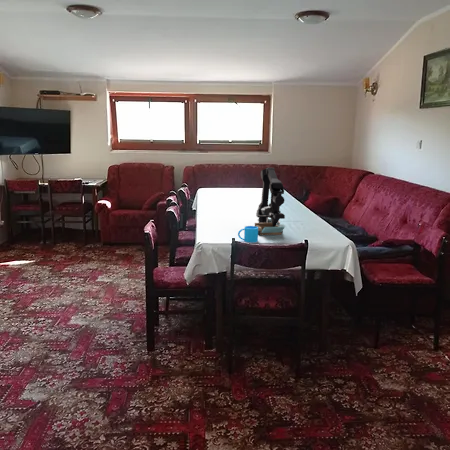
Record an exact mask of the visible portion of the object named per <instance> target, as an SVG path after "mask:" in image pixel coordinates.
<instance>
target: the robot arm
mask: <svg viewBox="0 0 450 450" xmlns="http://www.w3.org/2000/svg"><path fill="white" fill-rule="evenodd" d="M275 171H276V170H275V167H267V168H264V169H262V170H261V171H260V177H261V180H262V191H261V192H262V193H261V202H260V204H259V205H258V208H257V210H256V213H255V214H256V218H258V223H267V217H268V218H269V217H270V218H269V219H270V220H271V221H270V222H272V225H273V227H275V226H276V225H277V224H278V223H277V222H278V221H280V220H282V219H286V216H285V214H284V213H282V212H281V210H280V209H281V208H280V207H281V206H282V205H283V204H284V203H285V198H284V197H283V195H285V194H284V193H285V188H284V185H283V182H282V181H281V180H280V179H278V176H277V174H276V172H275ZM269 196H270V203H269Z"/></svg>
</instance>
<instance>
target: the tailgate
mask: <svg viewBox="0 0 450 450" xmlns="http://www.w3.org/2000/svg"><path fill="white" fill-rule="evenodd" d="M284 230H285V225H284V226H283V225H282V226H279V227H264V229H263V230H262V232H261V233H277V232H282V231H283V232H284Z"/></svg>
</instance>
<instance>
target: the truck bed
mask: <svg viewBox="0 0 450 450" xmlns="http://www.w3.org/2000/svg"><path fill="white" fill-rule="evenodd" d="M254 226H256V227H258V236H259V235H260V236H278V235H279V236H281V235H282V234H283V233H284V230H283V231H282V232H277V233H261V232H262V230H263V229H264V227H273V225H272V221H270V222H267V223H259V222H254ZM275 227H280V225H277V224H276V226H275Z"/></svg>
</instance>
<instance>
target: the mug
mask: <svg viewBox="0 0 450 450" xmlns="http://www.w3.org/2000/svg"><path fill="white" fill-rule="evenodd" d="M242 231H244V235H243V237H241V235H240V233H241V232H242ZM237 233H238V234H237V236H238V238H239V239H240V240H242V241H244V242H246V243H257V242H258V241H259V235H258V227H256V226H255V225H246V226H244V228H241V229H240V230H239V231H237Z"/></svg>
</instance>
